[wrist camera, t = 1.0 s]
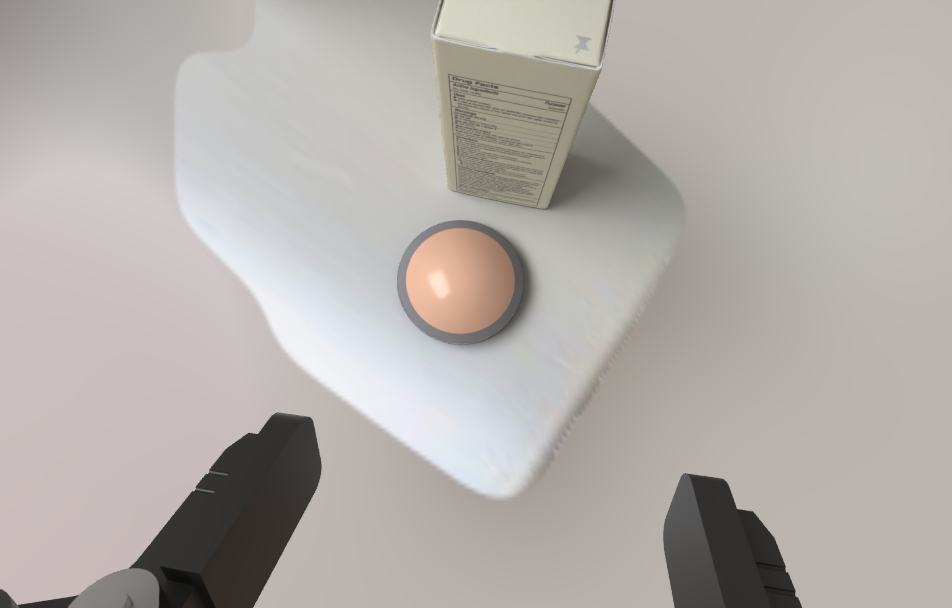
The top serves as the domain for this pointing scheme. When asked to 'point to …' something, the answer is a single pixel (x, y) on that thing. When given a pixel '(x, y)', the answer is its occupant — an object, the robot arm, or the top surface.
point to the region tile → (460, 282)
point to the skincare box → (514, 90)
